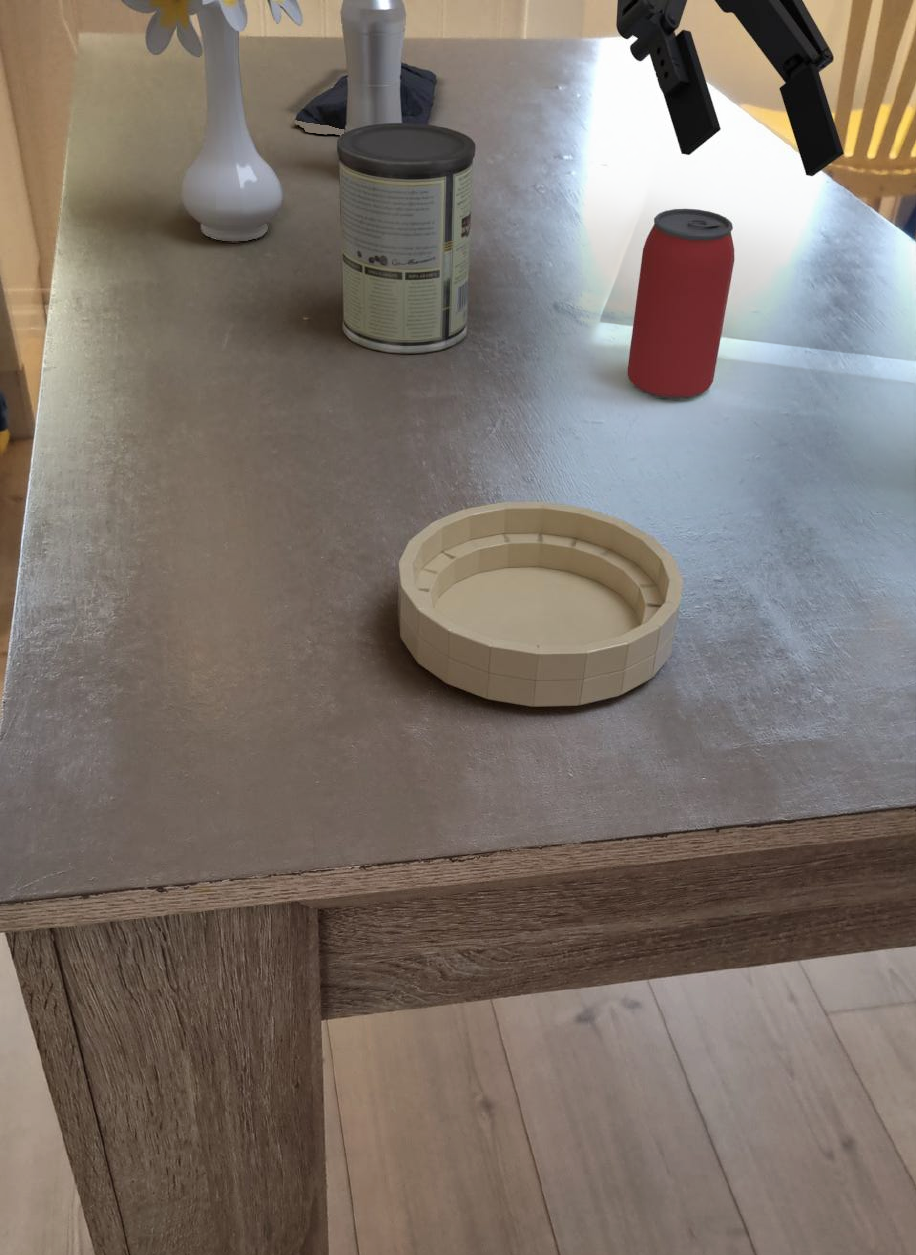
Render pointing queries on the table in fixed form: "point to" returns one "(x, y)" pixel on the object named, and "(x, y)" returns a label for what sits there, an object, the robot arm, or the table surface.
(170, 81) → the table surface
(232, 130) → the flower vase
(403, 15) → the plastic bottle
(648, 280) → the beer can
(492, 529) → the bowl
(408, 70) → the dark blue folded cloth
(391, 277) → the coffee can
